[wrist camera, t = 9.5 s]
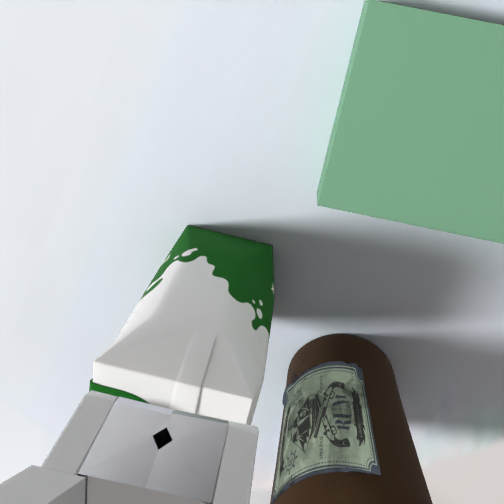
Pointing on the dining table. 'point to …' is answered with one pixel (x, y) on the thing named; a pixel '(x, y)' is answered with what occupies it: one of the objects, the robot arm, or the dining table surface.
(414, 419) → the dining table surface
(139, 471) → the robot arm
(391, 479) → the brown cylinder
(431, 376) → the dining table surface
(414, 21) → the putting mat
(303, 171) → the dining table surface
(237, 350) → the milk carton
